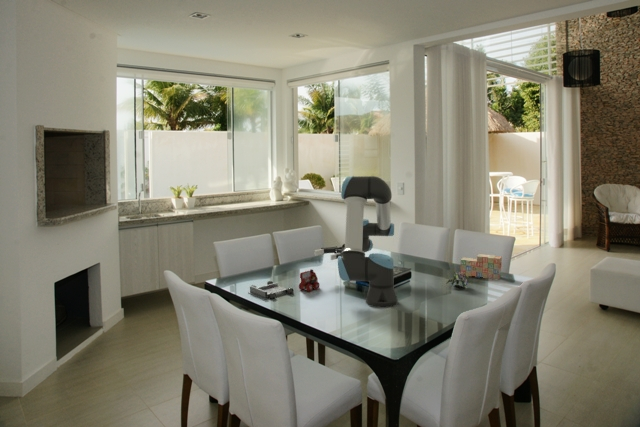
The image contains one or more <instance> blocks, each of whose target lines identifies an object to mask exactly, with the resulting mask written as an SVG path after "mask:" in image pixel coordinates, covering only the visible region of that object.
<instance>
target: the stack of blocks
mask: <svg viewBox="0 0 640 427" xmlns="http://www.w3.org/2000/svg"><path fill="white" fill-rule="evenodd" d="M502 264H503V263H502V256H500V255H499V256H498V255H496V254H495V255H494V254H483V253H482V254H481V253H479V254H477V256H476V258H473V257H462V258H461V259H460V271H459V272H460V273H461V274H463V276H464V272H466V274H467V275H468V276H469V277H472V276H475V277H474V278H480V277H483V278H482V279H488V278H493V279H492V280H496V279H499V278H500V277H501V278H502ZM501 278H500V279H501ZM500 279H499V280H500Z"/></svg>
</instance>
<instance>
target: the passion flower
mask: <svg viewBox="0 0 640 427" xmlns="http://www.w3.org/2000/svg"><path fill="white" fill-rule="evenodd" d="M453 272H454V275H453V277H451V278H450V277H448V275H445V277H446V278H445V279H448V281H446V283H445V284H446V285H447V284H448V283H450V286H449V288H452V286H453V285H454V284H455V283H456V285H459V283H460V282H461V286H462V288H463V289H466V290H467V288H468V287H467V285H468V283H469V282H468V279H469V278H470V276H468V275H467V274H466V272H464V275H463V274H461V273H460V272H461V271H458V270H457V271H456V270H455V269H453ZM466 277H467V278H466Z"/></svg>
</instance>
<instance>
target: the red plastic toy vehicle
mask: <svg viewBox="0 0 640 427" xmlns="http://www.w3.org/2000/svg"><path fill="white" fill-rule="evenodd" d="M299 279H300V283H299V284H298V289H299V290H300V291H304V290H306V291H307V292H308V293H312V291H313V290H314V291H315V290H316V291H317V290H319V289H320V283H319V281H318V276H317V273H316V272H314V269H310V270H305V271H302V272H300V273H299Z"/></svg>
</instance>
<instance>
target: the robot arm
mask: <svg viewBox="0 0 640 427" xmlns="http://www.w3.org/2000/svg"><path fill="white" fill-rule="evenodd" d="M340 195H341V196H340V197H341V199H343V201H344V202H343V203H344V204H345V205H346V216H345V235H344V236H345V237H344V238H345V239H344V243H343V244H342V245H341V246H329V247H327V246H326V247H320V249H315V250H313V255H314V256H315V257H318V256H320V255H324V254H330V261H334V260H337V268H338V274H339V278H340V280H342V281H348V282H368V283H369V285H368V290H367V293H366V296H365V304H366V305H368V306H370V307H374V308H391V307H394V306H396V305H398V296H397V295H396V291H395V288H394V287H395V286H394V284H395V283H394V282H395V280H394V279H395V278H394V277H395V275H394V274H395V273H394V272H395V270H394V269H395V265H394V262H395V261H394V258H393V257H392V256H390V255H388V254H383V253H378V252H373V253H370V254H368V256H366V253H367V252H370V251H371V250H372V249H373V247H374V244H373V241H372V239H370V237H393V236H395V224H394V223H393V222H391V202H390V201H391V200H392V196H393V194H392V190H391V188H390V185H389V184H388V183H387V182H386V181H385V180H383V179H382V178H381V177H379V176H375V175H371V176H369V175H367V176H364V175H363V176H354V175H352V176H345V178H344V179H343V181H342V185H341V194H340ZM368 200H373V201H374V202H375V210H376V211H375V212H376V222H370V221H369V219H367V218H366V219H365V218H364V213H365V212H364V208H365V205H366V204H367V203H368Z"/></svg>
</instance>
